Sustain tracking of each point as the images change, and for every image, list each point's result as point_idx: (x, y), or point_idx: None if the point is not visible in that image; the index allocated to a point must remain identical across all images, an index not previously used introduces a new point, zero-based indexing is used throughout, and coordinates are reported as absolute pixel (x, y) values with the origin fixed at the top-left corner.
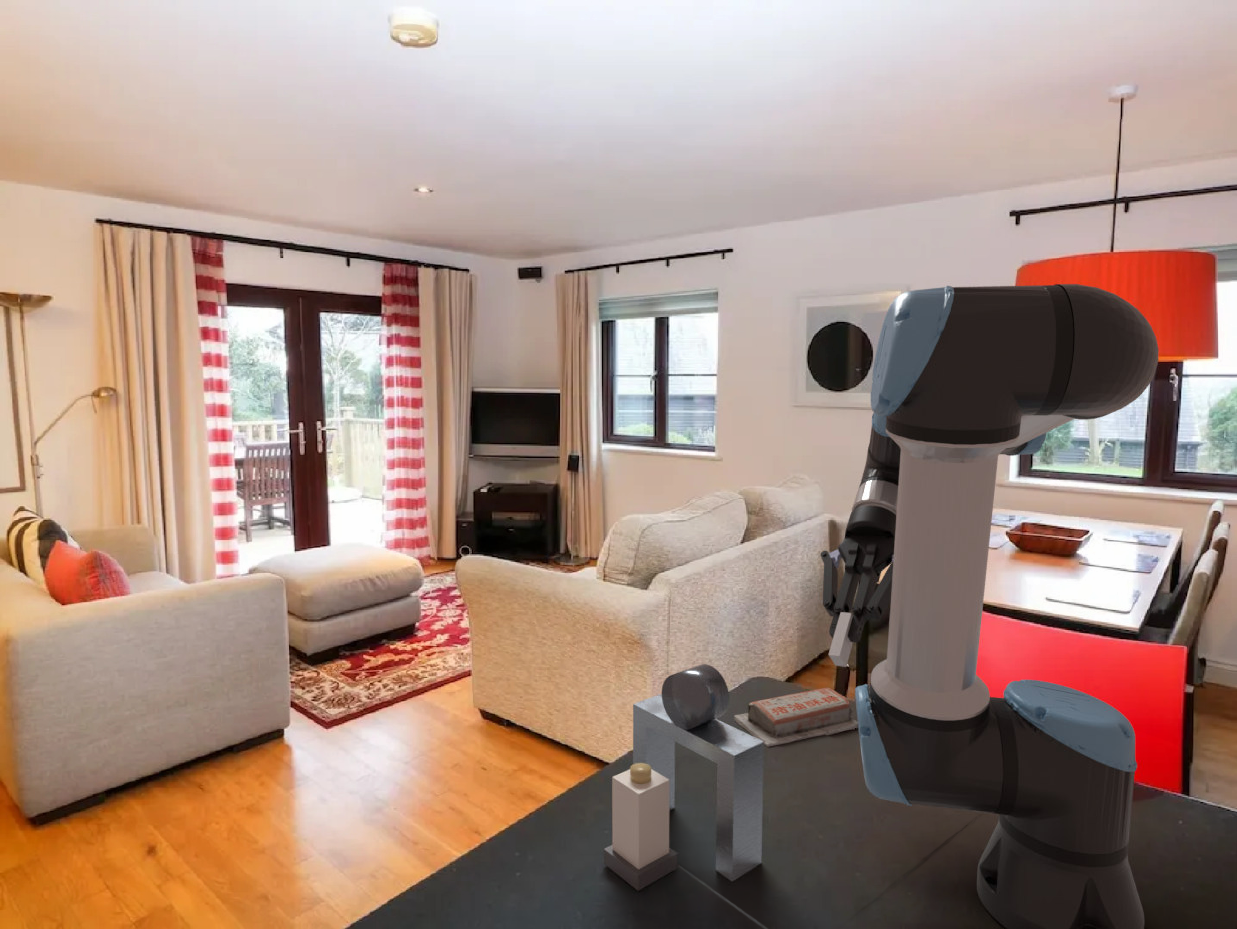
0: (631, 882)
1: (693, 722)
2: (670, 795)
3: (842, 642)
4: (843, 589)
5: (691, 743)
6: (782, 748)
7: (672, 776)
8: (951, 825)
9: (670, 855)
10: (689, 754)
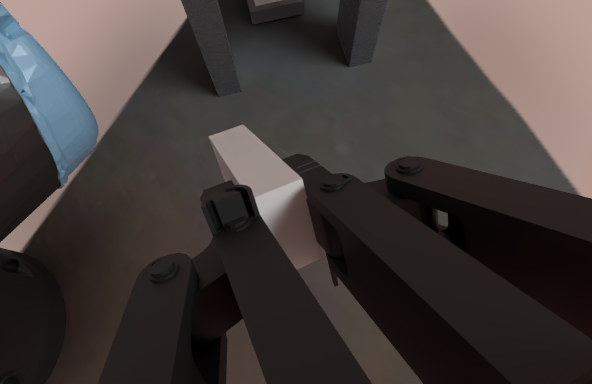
0: None
1: None
2: (349, 47)
3: (220, 150)
4: (408, 242)
5: None
6: None
7: (353, 32)
8: None
9: (251, 5)
10: (470, 143)
